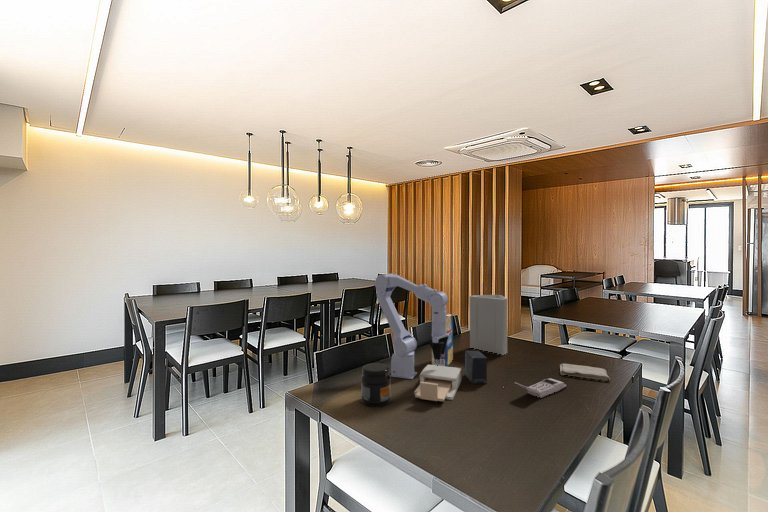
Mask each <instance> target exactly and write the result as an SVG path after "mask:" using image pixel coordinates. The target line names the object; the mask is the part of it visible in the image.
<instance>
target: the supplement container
mask: <svg viewBox="0 0 768 512" xmlns="http://www.w3.org/2000/svg"><path fill="white" fill-rule="evenodd" d="M361 372H362V375H361V376H360V384H361V386H360V388H361V389H360V390H361V393H360V395H361V396H360V400H361V402H362V403H363V404H364V405H366V406H369V407H381V406H382V407H383V406H385V405H387V404H389V403H390V401H391V399H392V395H391V393H392V391H391V386H392V385H391V381H392V379H391V378H392V377H391V374H390V367H389V365H388V364H385V363H381V362H374V363H367V364H365V365H363V366H362V368H361Z"/></svg>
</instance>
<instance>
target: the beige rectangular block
mask: <svg viewBox="0 0 768 512" xmlns="http://www.w3.org/2000/svg"><path fill="white" fill-rule="evenodd" d="M419 385H420V389H419V391H418V392H417V393H416V395H414V397H415V398H418V399H420V400H427V401H433V402H438V401H439V402H445V400H446V399H445V398H446V396H447V394H448V392H449V390H450V388H451V386H452V383H451V382H443V381H435V380H426V381H425V382H420V381H419Z"/></svg>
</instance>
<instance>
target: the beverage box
mask: <svg viewBox="0 0 768 512" xmlns="http://www.w3.org/2000/svg"><path fill="white" fill-rule="evenodd" d="M453 315H454V314H450V313H449V314H448V313H446V333H447V334H449V338H448V340H447V343H446V347H445V352H444V354H441V357H440V360H437V359H434V355H433V351H432V350H431V365H438V366H446V367H449V365H450V364H451V363H452V362H453V361H454V353H453V352H454V319H453V318H454V316H453ZM431 319H432V316H431ZM431 340H432V341H433V337H432V336H431ZM452 360H453V361H452Z"/></svg>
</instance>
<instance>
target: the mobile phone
mask: <svg viewBox="0 0 768 512" xmlns="http://www.w3.org/2000/svg"><path fill="white" fill-rule="evenodd" d="M514 384H515V385H517V386H519V387H521V388H523V389H525V390H527V394H529V395H531V396H534V397H536V396H537V398H539V397H540V398H541V399H542V398H544V397H547V396H549V394H550V395H551V394H554V392H555V393H557V392H559V391H561V390H562V389H564V388H566V387H567V384H565V382H564V381H563V382H562V381H560V380H557V379H553V378H546V379H542V380H541V381H539V382H537V383H535V384H532V385H530V386H525V385H523V384H520V383H518V382H517V381H514Z"/></svg>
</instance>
